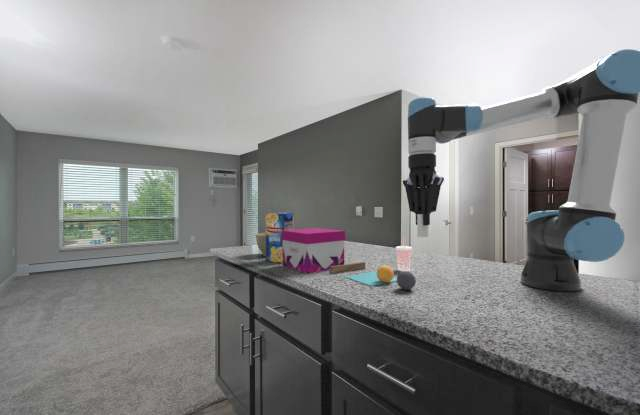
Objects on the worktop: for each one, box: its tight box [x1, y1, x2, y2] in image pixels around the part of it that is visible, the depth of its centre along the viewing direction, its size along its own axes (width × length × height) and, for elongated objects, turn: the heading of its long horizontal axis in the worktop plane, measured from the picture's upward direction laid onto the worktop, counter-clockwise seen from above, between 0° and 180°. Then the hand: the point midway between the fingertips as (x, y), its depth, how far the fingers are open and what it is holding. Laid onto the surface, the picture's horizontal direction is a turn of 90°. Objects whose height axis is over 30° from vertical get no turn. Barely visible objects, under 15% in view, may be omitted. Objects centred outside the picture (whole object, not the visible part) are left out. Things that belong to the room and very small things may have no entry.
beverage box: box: [265, 212, 295, 264], centre depth 139 cm, size 7×11×22 cm, turn 57°
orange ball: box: [376, 265, 395, 284], centre depth 101 cm, size 6×6×6 cm
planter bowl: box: [255, 232, 266, 257], centre depth 156 cm, size 16×16×11 cm
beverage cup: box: [395, 233, 413, 272], centre depth 119 cm, size 6×6×14 cm
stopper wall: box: [329, 261, 366, 275], centre depth 118 cm, size 1×16×2 cm, turn 121°
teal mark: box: [345, 271, 397, 287], centre depth 106 cm, size 14×14×1 cm
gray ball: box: [396, 271, 416, 291], centre depth 92 cm, size 6×6×6 cm
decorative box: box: [282, 227, 346, 274], centre depth 127 cm, size 19×19×15 cm
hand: (422, 236), depth 88 cm, fingers closed
